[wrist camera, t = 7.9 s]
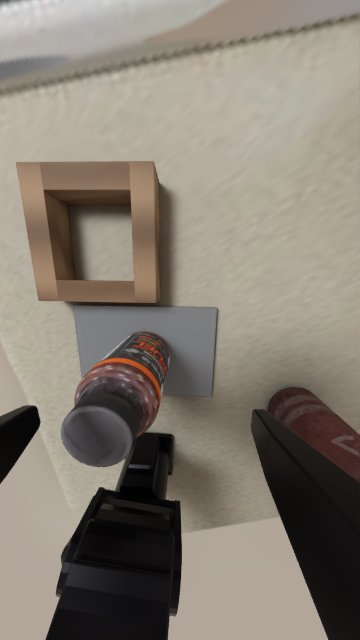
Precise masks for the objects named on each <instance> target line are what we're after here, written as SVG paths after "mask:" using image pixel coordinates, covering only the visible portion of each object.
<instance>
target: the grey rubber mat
mask: <svg viewBox="0 0 360 640" xmlns="http://www.w3.org/2000/svg"><path fill="white" fill-rule="evenodd" d="M73 310H74V318H75V327H76V335H77V343H78V351H79V359H80V368H81V376H82V378H83V377H84V376H85V375H86V374H87V372H88V371H89V370H91V369H92V368H93V367H94V366H95V365H96V364H97V363H98V362H99V361H100V360H102V359H103V358H104V357H105V356H106V355H107V354H108V353H109V352H111V351H112V350H113V349H114V348H115V347H116V346H117V345H118V344H119V343H121V342H122V341H123V340H124V339H125V338H126V337H128V336H129V335H131V334H133V333H135V332H139V331H146V332H151V333H154V334H156V335H158V336H160V338H162V339H163V340H164V342H165V343H166V344H167V346H168V349H169V352H170V362H169V367H168V372H167V376H166V380H165V385H164V389H163V393H162V395H174V396H204V397H211V395H212V379H213V363H214V346H215V330H216V314H217V308H216V307H170V306H116V305H73Z"/></svg>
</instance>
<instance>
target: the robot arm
mask: <svg viewBox="0 0 360 640" xmlns="http://www.w3.org/2000/svg"><path fill="white" fill-rule="evenodd" d="M39 426H40V417H39V413H38V409H37V407H36V406H30V405H27V406H22V407H20V408H18V409H16V410H13V411H11V412H9V413H7V414H4V415H2V416H0V484H1V482H2V481H3V480H4V478H5V477H6V476H7V474H8V473H9V472H10V470H11V469H12V468H13V466H14V465H15V463H16V461H17V460H18V459H19V457H20V456H21V454H22V453H23V451H24V450H25V448H26V446H27V445H28V443H29V442H30V441H31V439H32V438H33V436H34V435H35V433H36V432H37V430H38V428H39ZM251 430H252V434H253V438H254V441H255V445H256V448H257V451H258V455H259V458H260V462H261V465H262V468H263V472H264V475H265V478H266V481H267V484H268V486H269V489H270V492H271V494H272V497H273V499H274V502H275V504H276V507H277V509H278V512H279V515H280V517H281V520H282V522H283V525H284V527H285V530H286V533H287V535H288V538H289V540H290V543H291V545H292V548H293V550H294V553H295V556H296V558H297V561H298V563H299V566H300V568H301V571H302V573H303V576H304V579H305V581H306V584H307V586H308V589H309V591H310V594H311V596H312V599H313V602H314V604H315V606H316V609H317V612H318V614H319V617H320V620H321V622H322V625H323V627H324V630H325V632H326V635H327V637H328V640H360V482H359V481H357V480H356V479H355V478H353V477H352V476H351V475H349V474H348V473H347V472H345V471H344V470H343V469H342V468H340V467H339V466H338V465H336V464H335V463H334V462H332V461H331V460H330V459H328V458H327V457H326V456H325V455H323V454H322V453H321V452H319V451H318V450H317V449H315V448H314V447H313V446H311V445H310V444H309V443H308V442H306V441H305V440H304V439H302V438H301V437H300V436H298V435H297V434H296V433H295V432H293V431H292V430H291V429H289V428H288V427H287V426H285V425H284V424H283V423H281V422H280V421H279V420H278V419H276V418H275V417H274V416H272V415H271V414H270V413H268V412H267V411H266V410H264V409H254V410H253V413H252V423H251ZM172 472H173V436H172V435H169V434H145V433H143V434H141V435H140V436H138V437H136V438H135V440H134V443H133V446H132V448H131V451H130V452H129V454H128V455H127V457H126V458H125V462H124V465H123V468H122V471H121V474H120V477H119V480H118V483H117V486H116V489H115V491H113V490H107V489H105V488H102V487H99V489H98V491H97V493H96V495H95V496H93V498H92V500H91V502H90V504H89V506H88V508H87V510H86V512H85V513H84V515H83V517H82V519H81V521H80V523H79V525H78V527H77V529H76V531H75V532H74V534H73V536H72V537H71V539H70V540H69V542H68V543H67V545H66V546H65V548H64V550H63V552H62V555H61V563H62V569H61V573H60V577H59V580H58V584H57V589H56V596H58V597H60V599H59V602H58V604H57V608H56V610H55V613H54V616H53V619H52V622H51V625H50V628H49V631H48V634H47V637H46V640H168V627H169V616H176V614H177V610H178V604H179V595H180V584H181V565H182V542H181V541H182V540H181V511H180V501H177V500H175V501H170V500H166V490H167V479H168V475H172Z"/></svg>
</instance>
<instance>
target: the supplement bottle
mask: <svg viewBox="0 0 360 640" xmlns="http://www.w3.org/2000/svg"><path fill="white" fill-rule="evenodd" d="M169 362H170V352H169V349H168V346H167V344H166V343H165V342H164V340H163V339H162V338H160V336H158V335H156V334H154V333H151V332H146V331H139V332H135V333H133V334H131V335H129V336H128V337H126V338H125V339H124V340H123V341H122V342H121V343H119V344H118V345H117V346H116V347H115V348H114V349H113V350H112V351H111V352H109V353H108V354H107V355H106V356H105V357H104V358H103V359H102V360H100V361H99V362H98V363H97V364H96V365H95V366H94V367H93V368H92V369H91V370H89V371H88V372H87V374H86V375H85V376H84V377H83V378H82V379H81V381H80V383H79V385H78V387H77V389H76V392H75V399H74V400H75V407H74V408H73V409H72V410H71V412H70V413H69V414H68V415H67V416H66V418H65V419H64V421H63V423H62V426H61V438H62V441H63V444H64V446H65V448H66V450H67V451H68V452H69V453H70V454H71V455H72V456H73V457H74V458H75V459H76V460H78V461H79V462H81V463H85V464H86V465H89V466H95V467H107V466H112V465H115V464H118V463H119V462H121V461H122V460H124V459H125V458H126V457H127V455H128V454H129V452H130V451H131V448H132V446H133V443H134V440H135V438H136V437H138V436H140V435H141V434H143V433H144V432H145V431H147V430H148V428H149V427H150V426H151V425H152V423H153V422H154V420H155V418H156V416H157V413H158V410H159V406H160V402H161V397H162V393H163V389H164V385H165V380H166V376H167V372H168V367H169Z"/></svg>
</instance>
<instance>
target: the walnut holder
mask: <svg viewBox="0 0 360 640" xmlns="http://www.w3.org/2000/svg"><path fill="white" fill-rule="evenodd" d="M16 166H17V172H18V179H19V185H20V191H21V197H22V203H23V209H24V215H25V221H26V227H27V233H28V239H29V245H30V251H31V257H32V264H33V270H34V276H35V282H36V288H37V294H38V300H39V301H78V302H133V303H157V302H158V301H159V300H160V205H159V179H158V176H157V172H156V168H155V164H154V161H133V162H16ZM67 205H131V214H132V238H133V261H134V281H90V280H75V271H74V262H73V254H72V245H71V236H70V227H69V219H68V210H67Z"/></svg>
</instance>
